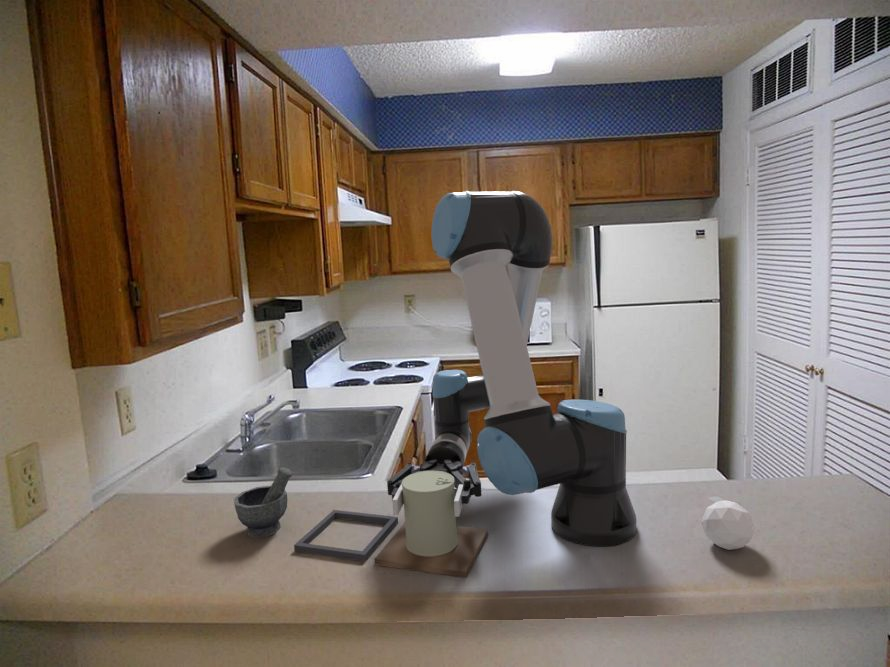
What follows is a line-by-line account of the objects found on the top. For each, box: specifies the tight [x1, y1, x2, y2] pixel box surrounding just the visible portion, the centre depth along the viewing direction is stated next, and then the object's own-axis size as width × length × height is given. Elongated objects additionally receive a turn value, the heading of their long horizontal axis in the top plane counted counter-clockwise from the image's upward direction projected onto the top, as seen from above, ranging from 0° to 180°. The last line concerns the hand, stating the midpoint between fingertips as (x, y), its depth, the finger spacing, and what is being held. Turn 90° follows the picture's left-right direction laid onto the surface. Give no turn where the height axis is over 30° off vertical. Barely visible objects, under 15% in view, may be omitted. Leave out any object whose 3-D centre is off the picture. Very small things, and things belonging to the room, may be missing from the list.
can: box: [402, 471, 458, 557], centre depth 98 cm, size 9×9×12 cm
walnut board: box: [373, 522, 489, 578], centre depth 99 cm, size 16×14×1 cm
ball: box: [701, 500, 756, 551], centre depth 95 cm, size 8×8×8 cm
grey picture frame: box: [293, 509, 399, 562], centre depth 105 cm, size 14×14×1 cm
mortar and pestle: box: [233, 467, 293, 539], centre depth 109 cm, size 11×9×12 cm
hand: (425, 508), depth 94 cm, fingers open, 10 cm apart
